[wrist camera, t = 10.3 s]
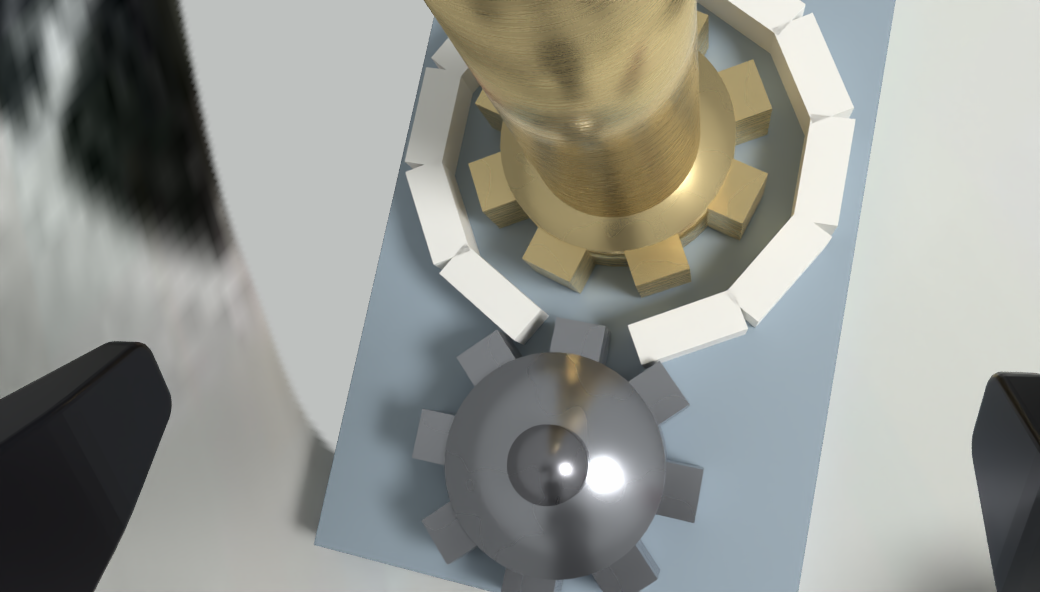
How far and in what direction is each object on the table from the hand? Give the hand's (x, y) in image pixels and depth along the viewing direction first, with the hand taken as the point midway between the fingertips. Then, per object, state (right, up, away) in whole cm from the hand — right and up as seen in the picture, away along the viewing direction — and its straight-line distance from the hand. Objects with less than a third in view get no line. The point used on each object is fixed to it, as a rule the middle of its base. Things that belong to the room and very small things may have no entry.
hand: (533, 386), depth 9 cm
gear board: (+2, +2, +14) cm, 14 cm away
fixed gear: (+1, -3, +12) cm, 13 cm away
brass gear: (+3, +4, +13) cm, 14 cm away
